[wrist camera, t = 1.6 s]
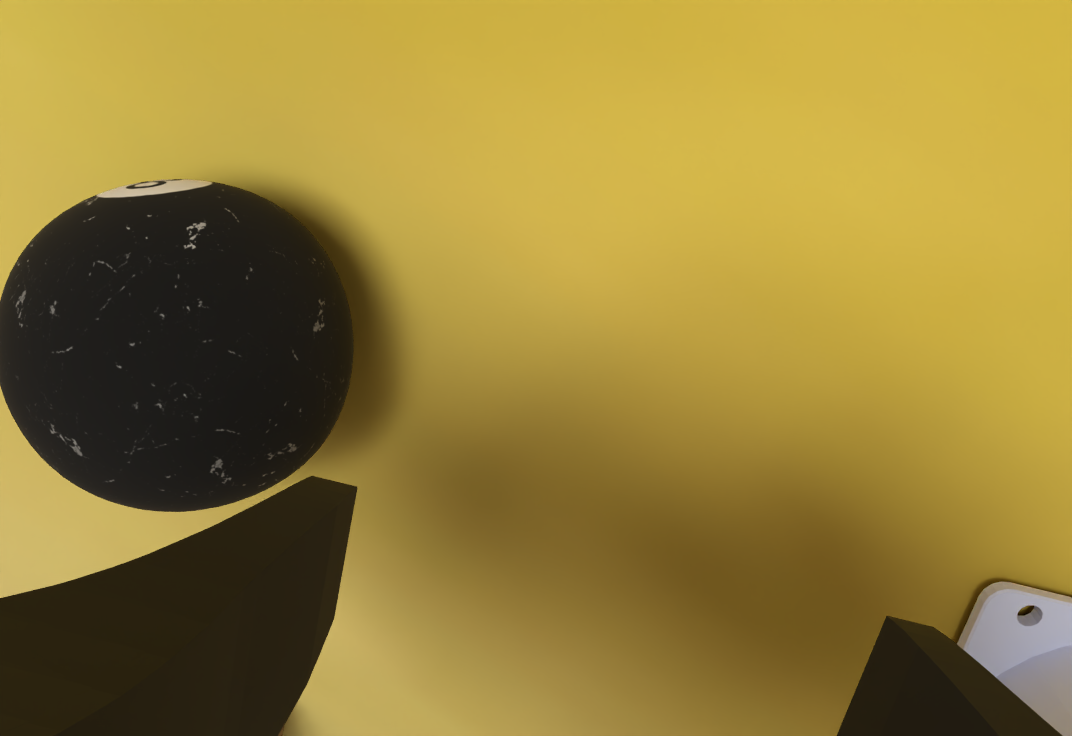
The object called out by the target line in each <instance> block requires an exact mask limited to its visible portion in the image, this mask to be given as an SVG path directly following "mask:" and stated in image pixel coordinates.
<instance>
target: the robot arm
mask: <svg viewBox="0 0 1072 736" xmlns="http://www.w3.org/2000/svg"><path fill="white" fill-rule="evenodd" d="M356 492H357V487H356V486H352V485H347V484H343V483H339V482H335V481H331V480H327V479H323V478H319V477H315V476H310V477H308V478H306V479H304V480H302V481H300V482H298V483H296V484H294V485H292V486H290V487H288V488H286V489H285V490H283V491H281V492H279V493H277V494H275V495H273V496H271V497H269V498H268V499H266V500H264V501H262V502H260V503H258V504H256V505H254V506H252V507H250V508H248V509H246V510H244V511H242V512H240V513H238V514H236V515H234V516H232V517H230V518H228V519H226V520H224V521H222V522H220V523H218V524H216V525H214V526H212V527H210V528H208V529H205V530H203V531H201V532H198V533H196V534H194V535H191V536H189V537H187V538H185V539H182V540H180V541H178V542H175V543H173V544H171V545H168V546H166V547H164V548H161V549H159V550H157V551H155V552H152V553H150V554H147V555H145V556H142V557H139V558H137V559H134V560H132V561H129V562H126V563H123V564H120V565H118V566H115V567H112V568H109V569H106V570H103V571H99V572H96V573H93V574H90V575H87V576H84V577H81V578H78V579H74V580H71V581H68V582H64V583H61V584H57V585H53V586H49V587H45V588H41V589H37V590H33V591H29V592H24V593H20V594H16V595H12V596H8V597H4V598H0V736H278V735H279V733H280V731H281V729H282V728H283V726H284V724H285V722H286V721H287V719H288V717H289V715H290V714H291V712H292V710H293V708H294V707H295V705H296V703H297V701H298V699H299V698H300V696H301V694H302V692H303V690H304V689H305V687H306V685H307V683H308V681H309V678H310V676H311V674H312V671H313V669H314V666H315V664H316V662H317V659H318V657H319V655H320V652H321V650H322V647H323V645H324V642H325V640H326V637H327V635H328V632H329V630H330V627H331V625H332V622H333V620H334V616H335V610H336V604H337V599H338V593H339V588H340V582H341V576H342V571H343V565H344V560H345V554H346V548H347V543H348V537H349V532H350V526H351V520H352V515H353V509H354V504H355V498H356ZM1028 605H1035V606H1034V609H1033V610H1032V611H1031V613H1029V614H1027V615H1024V616H1017V613H1018V612H1019V611H1020V609H1021V608H1023V607H1025V606H1028ZM837 736H1072V597H1069V596H1064V595H1060V594H1056V593H1052V592H1048V591H1044V590H1040V589H1036V588H1032V587H1028V586H1023V585H1019V584H1015V583H1011V582H997V583H993V584H991V585H989V586H988V587H986V588H985V589H983V591H982V592H981V594H980V595H979V596H978V599H977V601H976V603H975V605H974V608H973V610H972V612H971V614H970V616H969V619H968V621H967V623H966V625H965V627H964V630H963V632H962V634H961V636H960V639H959V641H958V643H957V644H956V643H955V642H953V641H952V640H951V639H949V638H948V637H947V636H945V635H944V634H942V633H941V632H940V631H938V630H937V629H935V628H934V627H931V626H927V625H922V624H918V623H914V622H910V621H906V620H902V619H898V618H894V617H890V616H886V619H885V621H884V624H883V626H882V628H881V631H880V633H879V636H878V638H877V640H876V643H875V645H874V648H873V650H872V652H871V655H870V657H869V660H868V662H867V665H866V667H865V669H864V672H863V674H862V677H861V679H860V681H859V684H858V686H857V689H856V691H855V693H854V696H853V698H852V701H851V703H850V705H849V708H848V710H847V713H846V715H845V717H844V720H843V722H842V725H841V727H840V729H839V732H838V734H837Z"/></svg>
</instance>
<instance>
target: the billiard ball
mask: <svg viewBox="0 0 1072 736" xmlns="http://www.w3.org/2000/svg"><path fill="white" fill-rule="evenodd" d="M352 363H353V330H352V321H351V315H350V310H349V305H348V302H347V298H346V295H345V291H344V289H343V286H342V284H341V281H340V278H339V276H338V274H337V272H336V270H335V268H334V266H333V264H332V262H331V261H330V259H329V257H328V256H327V254H326V252H325V251H324V249H323V248H322V247H321V245H320V244H319V243H318V241H317V240H316V239H315V238H314V236H313V235H312V234H311V233H310V232H309V231H308V230H307V229H306V228H305V227H304V226H303V225H302V224H301V223H300V222H299V221H298V220H297V219H296V218H294V217H293V216H292V215H290V214H289V213H288V212H286V211H285V210H284V209H282V208H280V207H279V206H277V205H275V204H274V203H272V202H270V201H268V200H266V199H264V198H262V197H260V196H258V195H256V194H254V193H251V192H248V191H245V190H243V189H240V188H236V187H232V186H228V185H225V184H220V183H215V182H208V181H202V180H188V179H173V180H155V181H147V182H141V183H136V184H131V185H126V186H121V187H118V188H115V189H112V190H109V191H106V192H103V193H100V194H97V195H95V196H93V197H91V198H88V199H86V200H84V201H82V202H80V203H78V204H77V205H75V206H73V207H72V208H70V209H68V210H66V211H65V212H63V213H62V214H60V215H59V216H58V217H56V218H55V219H54V220H52V221H51V222H50V223H49V224H48V225H46V226H45V227H44V228H43V229H42V230H41V231H40V232H39V233H38V234H37V235H36V236H35V237H34V238H33V239H32V241H31V242H30V243H29V244H28V245H27V247H26V248H25V249H24V251H23V252H22V253H21V255H20V257H19V258H18V260H17V262H16V263H15V265H14V267H13V269H12V271H11V272H10V275H9V277H8V279H7V282H6V284H5V287H4V290H3V293H2V297H1V300H0V386H1V389H2V392H3V395H4V398H5V401H6V403H7V405H8V408H9V410H10V412H11V414H12V416H13V418H14V420H15V422H16V423H17V425H18V427H19V428H20V430H21V432H22V433H23V435H24V436H25V438H26V439H27V440H28V442H29V443H30V445H31V446H32V447H33V448H34V450H35V451H36V452H37V453H38V454H39V455H40V457H41V458H43V459H44V460H45V461H46V462H47V463H48V464H49V465H50V466H51V467H52V468H53V469H54V470H56V471H57V472H58V473H59V474H60V475H62V476H63V477H64V478H66V479H67V480H69V481H70V482H72V483H73V484H75V485H76V486H78V487H80V488H82V489H83V490H85V491H87V492H89V493H91V494H93V495H95V496H98V497H100V498H103V499H105V500H108V501H111V502H114V503H117V504H121V505H124V506H128V507H133V508H138V509H142V510H151V511H164V512H184V511H196V510H202V509H208V508H214V507H219V506H223V505H227V504H230V503H234V502H237V501H239V500H242V499H245V498H248V497H251V496H253V495H256V494H258V493H260V492H262V491H264V490H266V489H268V488H270V487H272V486H274V485H275V484H277V483H279V482H280V481H282V480H284V479H285V478H287V477H288V476H289V475H291V474H292V473H293V472H295V471H296V470H297V469H298V468H300V467H301V466H302V465H304V464H305V463H306V462H307V461H308V460H309V459H310V458H311V457H312V456H313V455H314V453H315V452H316V451H317V450H318V449H319V448H320V447H321V445H322V444H323V442H324V441H325V440H326V438H327V437H328V435H329V434H330V432H331V430H332V428H333V427H334V425H335V423H336V421H337V419H338V417H339V414H340V412H341V409H342V407H343V404H344V402H345V399H346V395H347V392H348V388H349V383H350V377H351V372H352Z"/></svg>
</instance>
